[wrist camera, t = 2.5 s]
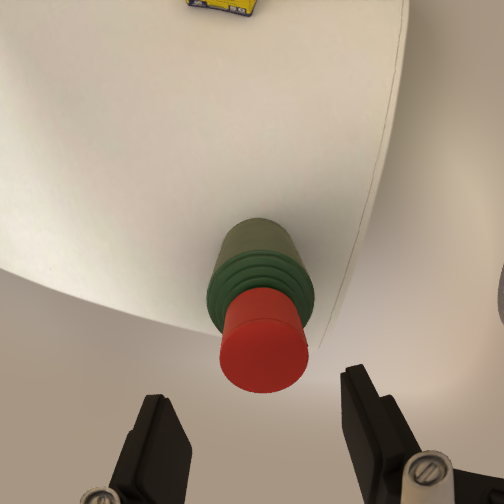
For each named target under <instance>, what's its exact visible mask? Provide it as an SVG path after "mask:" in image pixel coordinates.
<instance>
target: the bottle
mask: <svg viewBox="0 0 504 504" xmlns="http://www.w3.org/2000/svg"><path fill="white" fill-rule="evenodd" d="M254 288H271V289H275V290H277V291H280V292H282V293H283V294H285V295H286V296H287V297H289V298H290V299H291V301H292V302H293V303H294V305H295V307H296V310H297V313H298V316H300V320H301V323H302V327H303V328H304V327H305V326H306V324H307V322H308V320H309V319H310V317H311V314H312V312H313V308H314V300H315V296H314V288H313V284H312V282H311V279H310V277H309V275H308V273H307V271H306V269H305V266H304V264H303V262H302V260H301V258H300V256H299V254H298V252H297V250H296V248H295V246H294V244H293V242H292V240H291V238H290V236H289V234H288V233H287V232H286V230H285V229H284V228H282V227H281V226H280V225H279V224H277V223H275V222H273V221H271V220H267V219H261V218H255V219H249V220H245V221H243V222H241V223H239V224H237V225H236V226H235V227H233V228H232V229H231V230H230V231H229V233H228V234H227V235H226V237H225V239H224V241H223V244H222V247H221V250H220V253H219V256H218V259H217V262H216V265H215V268H214V271H213V274H212V277H211V280H210V283H209V286H208V290H207V297H206V299H207V308H208V312H209V315H210V318H211V320H212V322H213V323H214V325H215V326H216V328H217V329H218V330H219V331H220V332H221V333H222V335H223V330H224V324H225V318H226V313H227V310H228V307H229V305H230V304H231V302H232V301H233V300H234V299H235V298H236V297H237V296H238V295H240V294H241V293H243V292H245V291H247V290H250V289H254Z"/></svg>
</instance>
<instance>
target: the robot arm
mask: <svg viewBox="0 0 504 504" xmlns="http://www.w3.org/2000/svg"><path fill="white" fill-rule="evenodd" d="M340 375H341V376H340V378H341V408H342V429H343V433H344V437H345V440H346V444H347V447H348V450H349V453H350V457H351V460H352V463H353V466H354V470H355V473H356V476H357V479H358V483H359V486H360V490H361V493H362V496H363V500H364V503H365V504H504V479H503V478H497V477H491V476H486V475H481V474H476V473H471V472H466V471H462V470H458V469H454V468H453V467H452V463H451V460H450V459H449V458H448V456H446V455H444V454H443V453H441V452H438V451H430V450H427V451H423V452H422V450H421V449H420V447H419V445H418V443H417V441H416V439H415V437H414V435H413V433H412V431H411V429H410V427H409V425H408V424H407V422H406V420H405V418H404V416H403V414H402V412H401V411H400V409H399V407H398V405H397V403H396V401H395V399H394V398H393V396H392V395H386V396H383V397H379V395H378V393H377V391H376V389H375V387H374V385H373V383H372V381H371V379H370V377H369V375H368V373H367V371H366V369H365V368H364V366H363V364H359V365H355V366H351V367H347V368H346V372H343V373H341V374H340ZM191 458H192V447H191V444H190V442H189V440H188V438H187V436H186V434H185V432H184V430H183V428H182V425H181V424H180V421H179V419H178V417H177V415H176V413H175V410H174V408H173V406H172V404H171V402H170V400H169V398H165V397H164V396H163V395H162V394H156V395H146V397H145V399H144V401H143V405H142V407H141V409H140V412H139V414H138V417H137V420H136V423H135V425H134V428H133V430H131V431H129V433H128V435H127V438H126V440H125V443H124V445H123V448H122V451H121V453H120V456H119V459H118V462H117V464H116V467H115V470H114V473H113V475H112V478H111V481H110V484H109V487H95V488H92V489H90V490H88V491H87V492H86V493H85V494H84V495H83V496H82V498H81V500H80V504H184V502H185V496H186V489H187V482H188V476H189V470H190V463H191Z"/></svg>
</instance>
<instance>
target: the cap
mask: <svg viewBox="0 0 504 504" xmlns="http://www.w3.org/2000/svg"><path fill="white" fill-rule="evenodd" d="M307 347H308V344H307V340H306V337H305V333H304V330H303V327H302V323H301V320H300V316H298V313H297V310H296V307H295V305H294V303H293V302H292V301H291V299H290V298H289V297H287V296H286V295H285V294H283V293H282V292H280V291H277V290H275V289H271V288H254V289H250V290H247V291H245V292H243V293H241V294H240V295H238V296H237V297H236V298H235V299H234V300H233V301H232V302H231V304H230V305H229V307H228V310H227V313H226V318H225V324H224V330H223V337H222V343H221V350H220V366H221V368H222V371H223V373H224V374H225V376H226V377H227V378H228V380H230V381H231V382H232V383H233V384H234V385H235V386H237V387H239V388H241V389H243V390H246V391H249V392H254V393H272V392H277V391H280V390H282V389H285V388H287V387H289V386H291V385H292V384H293V383H294V382H296V381H297V380H298V379H299V378H300V377H301V376H302V374H303V373H304V371H305V369H306V367H307V363H308V358H309V355H308V348H307Z"/></svg>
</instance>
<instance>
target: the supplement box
mask: <svg viewBox="0 0 504 504" xmlns="http://www.w3.org/2000/svg"><path fill="white" fill-rule="evenodd" d="M186 1H187V4H188V5H189V6H197V7H206V8H212V9H218V10H223V11H228V12H232V13H236V14H240V15H244V16H249V17H250V16H251V15H252V11H253V9H254V6H255V3H256V1H257V0H186Z"/></svg>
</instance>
